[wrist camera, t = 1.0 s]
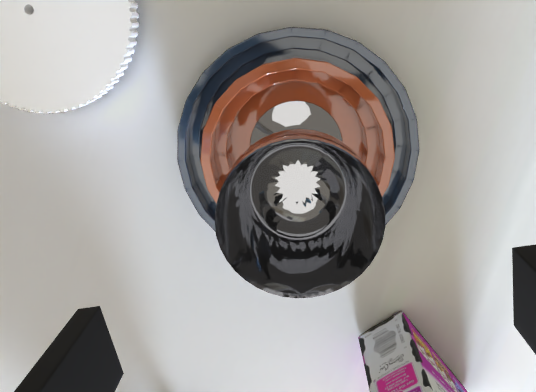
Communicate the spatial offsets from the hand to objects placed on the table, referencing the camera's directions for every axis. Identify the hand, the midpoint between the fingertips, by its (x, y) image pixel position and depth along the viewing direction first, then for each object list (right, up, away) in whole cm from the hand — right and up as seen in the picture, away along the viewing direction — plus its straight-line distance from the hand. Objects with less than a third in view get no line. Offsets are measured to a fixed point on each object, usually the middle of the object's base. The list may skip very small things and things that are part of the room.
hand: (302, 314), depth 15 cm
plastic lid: (-17, +17, +19) cm, 31 cm away
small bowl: (+1, +8, +21) cm, 23 cm away
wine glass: (+1, +8, +21) cm, 22 cm away
